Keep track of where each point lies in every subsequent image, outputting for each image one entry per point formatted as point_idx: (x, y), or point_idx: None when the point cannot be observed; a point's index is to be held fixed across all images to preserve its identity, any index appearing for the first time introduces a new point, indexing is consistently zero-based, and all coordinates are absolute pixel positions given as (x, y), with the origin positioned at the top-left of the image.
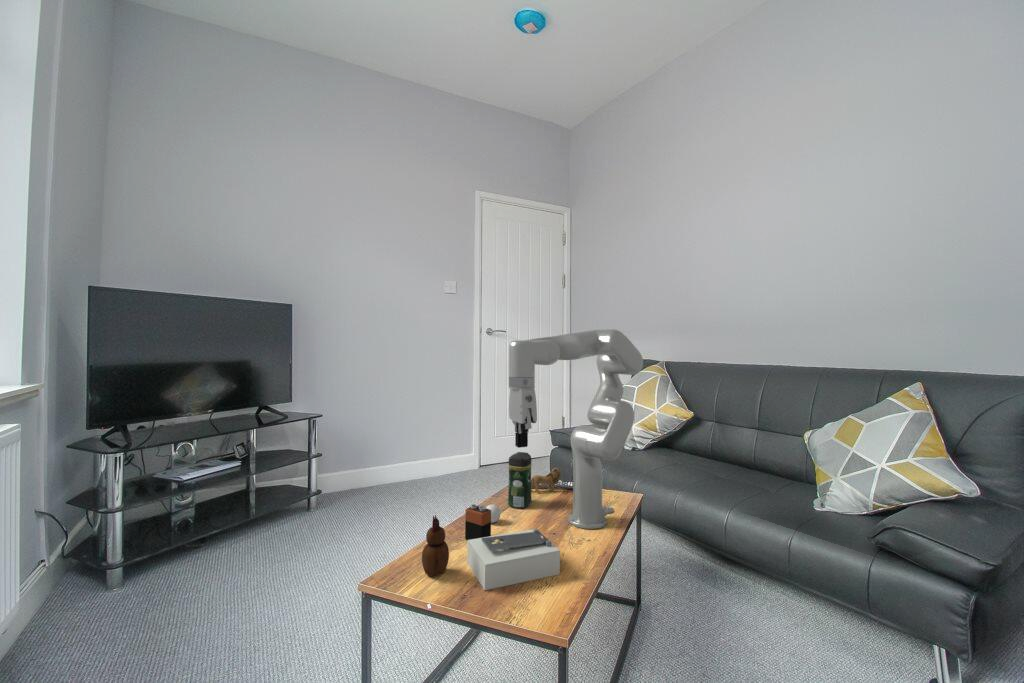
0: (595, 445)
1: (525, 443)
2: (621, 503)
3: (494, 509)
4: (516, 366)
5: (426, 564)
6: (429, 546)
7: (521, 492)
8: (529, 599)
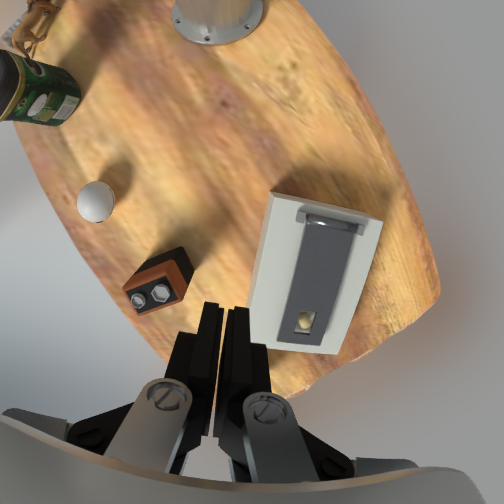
0: None
1: (264, 349)
2: None
3: (101, 205)
4: None
5: None
6: None
7: (57, 99)
8: (381, 292)
